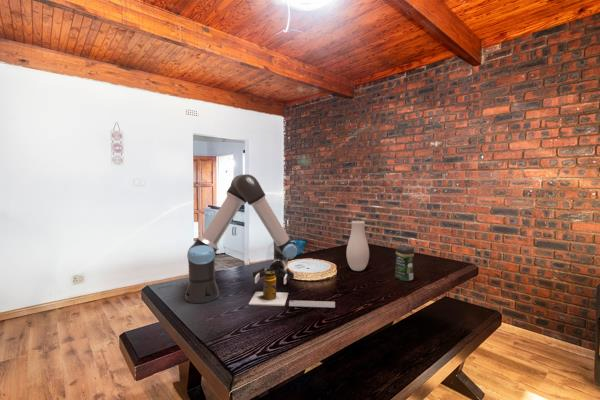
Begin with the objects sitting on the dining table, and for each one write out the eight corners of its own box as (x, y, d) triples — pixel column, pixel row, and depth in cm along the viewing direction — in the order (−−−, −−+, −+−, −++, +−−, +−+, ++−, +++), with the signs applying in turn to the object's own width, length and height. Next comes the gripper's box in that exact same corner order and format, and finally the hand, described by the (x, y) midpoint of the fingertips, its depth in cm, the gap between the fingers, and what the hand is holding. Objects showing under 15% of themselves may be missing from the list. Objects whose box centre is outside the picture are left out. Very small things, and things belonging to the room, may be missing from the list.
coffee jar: (392, 277, 170) (393, 245, 168) (402, 275, 173) (403, 243, 172) (405, 282, 161) (405, 248, 160) (415, 280, 164) (416, 247, 163)
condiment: (279, 298, 138) (279, 273, 137) (263, 302, 133) (263, 276, 132) (272, 293, 144) (272, 269, 143) (256, 297, 139) (256, 272, 138)
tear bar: (289, 306, 131) (289, 301, 131) (289, 304, 132) (289, 300, 132) (334, 307, 129) (334, 303, 129) (334, 306, 131) (334, 301, 131)
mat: (248, 304, 132) (248, 303, 132) (255, 292, 146) (255, 291, 146) (284, 305, 131) (284, 304, 131) (288, 293, 145) (288, 292, 145)
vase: (341, 268, 187) (342, 220, 185) (359, 265, 193) (360, 219, 191) (354, 274, 175) (355, 223, 173) (373, 271, 180) (374, 222, 178)
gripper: (300, 275, 158) (296, 289, 137) (254, 273, 160) (243, 287, 139) (300, 261, 158) (296, 273, 137) (254, 260, 160) (243, 272, 139)
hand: (270, 280), depth 138 cm, fingers open, 13 cm apart
